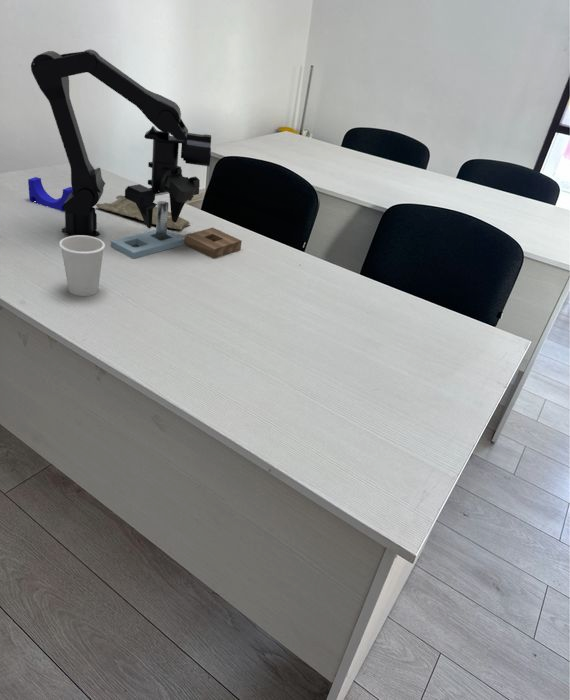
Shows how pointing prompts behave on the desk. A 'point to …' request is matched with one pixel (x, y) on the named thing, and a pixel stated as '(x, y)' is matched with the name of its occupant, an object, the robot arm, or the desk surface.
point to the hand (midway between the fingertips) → (161, 224)
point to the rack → (146, 243)
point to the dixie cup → (82, 263)
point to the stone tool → (131, 210)
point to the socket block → (212, 242)
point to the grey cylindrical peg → (162, 220)
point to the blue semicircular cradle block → (46, 195)
